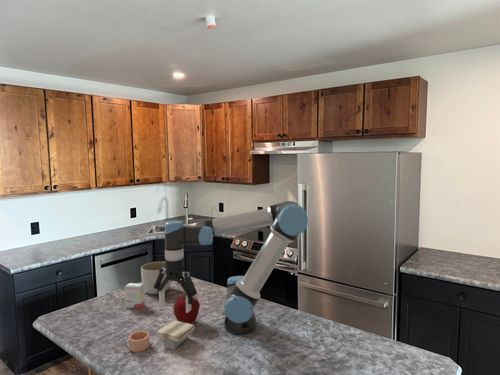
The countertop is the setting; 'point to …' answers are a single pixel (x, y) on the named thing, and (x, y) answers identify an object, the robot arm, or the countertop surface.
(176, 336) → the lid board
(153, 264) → the planter
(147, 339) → the bowl
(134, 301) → the ink box
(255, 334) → the countertop surface
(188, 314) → the apple
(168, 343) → the grey rectangular block
